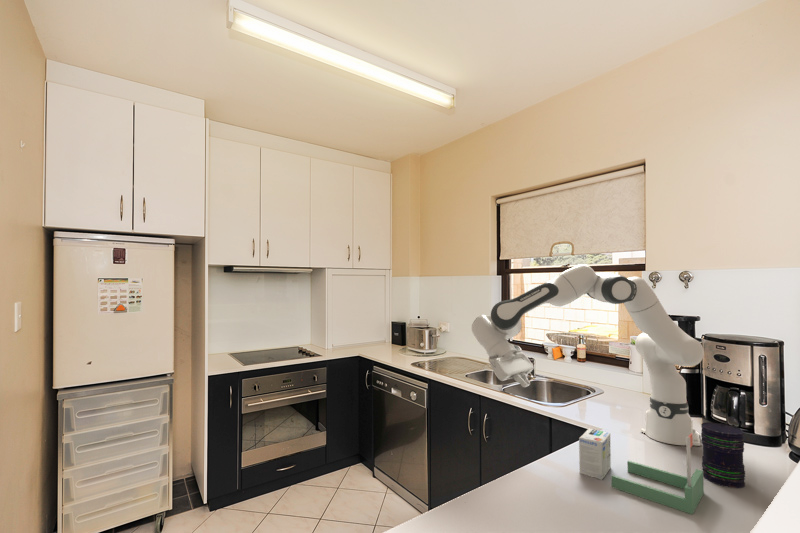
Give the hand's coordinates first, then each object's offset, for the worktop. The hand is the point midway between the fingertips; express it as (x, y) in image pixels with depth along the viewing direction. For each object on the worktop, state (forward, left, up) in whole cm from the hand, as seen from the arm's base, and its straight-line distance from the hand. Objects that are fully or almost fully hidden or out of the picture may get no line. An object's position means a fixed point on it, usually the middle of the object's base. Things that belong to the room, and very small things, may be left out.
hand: (527, 385), depth 139 cm
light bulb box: (0, +22, -22) cm, 31 cm away
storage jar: (-21, +50, -22) cm, 59 cm away
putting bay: (0, +38, -21) cm, 44 cm away
